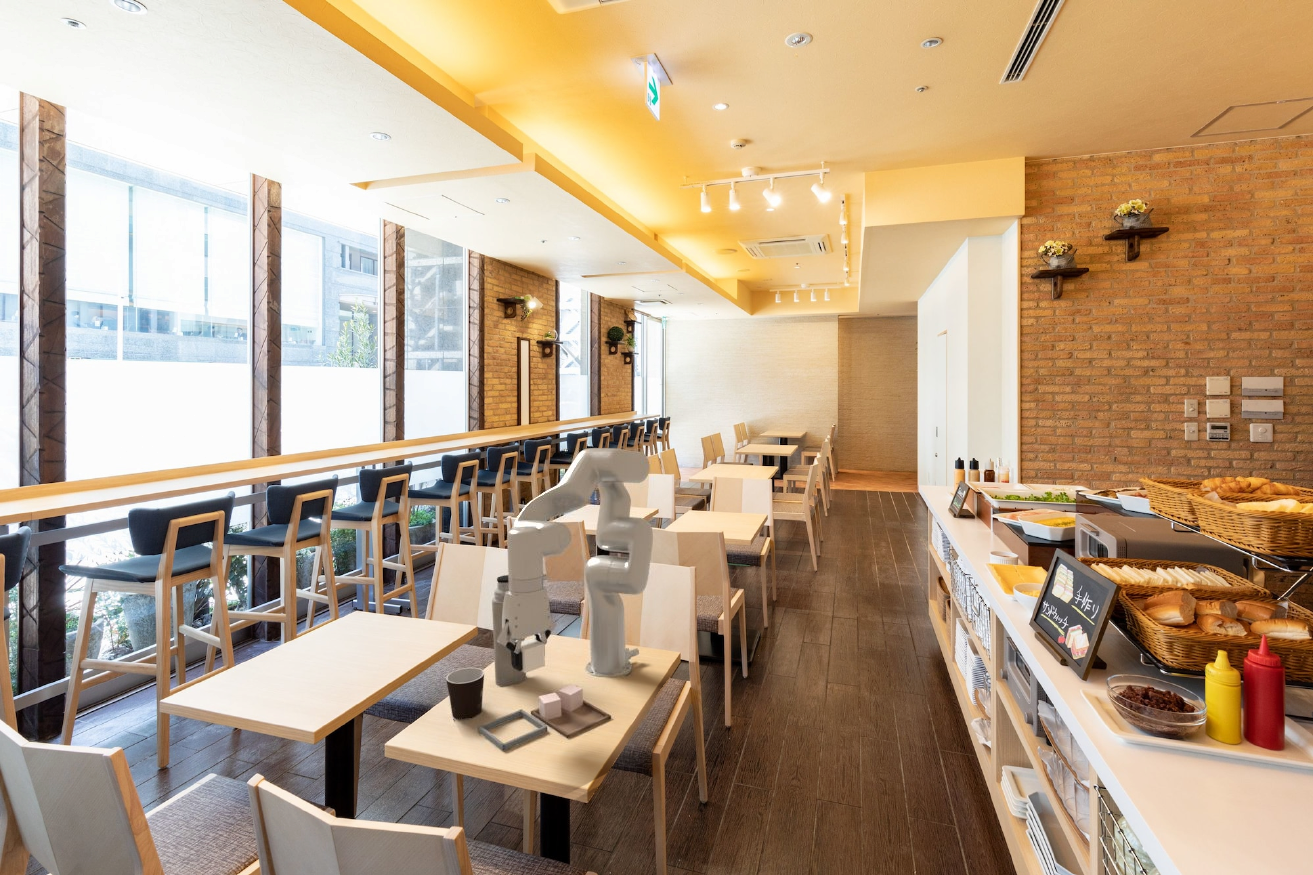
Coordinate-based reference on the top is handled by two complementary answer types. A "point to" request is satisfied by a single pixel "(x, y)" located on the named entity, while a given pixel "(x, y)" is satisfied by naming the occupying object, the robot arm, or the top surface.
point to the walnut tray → (574, 719)
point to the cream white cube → (532, 655)
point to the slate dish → (504, 746)
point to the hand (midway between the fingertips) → (528, 664)
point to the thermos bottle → (502, 655)
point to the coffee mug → (465, 692)
